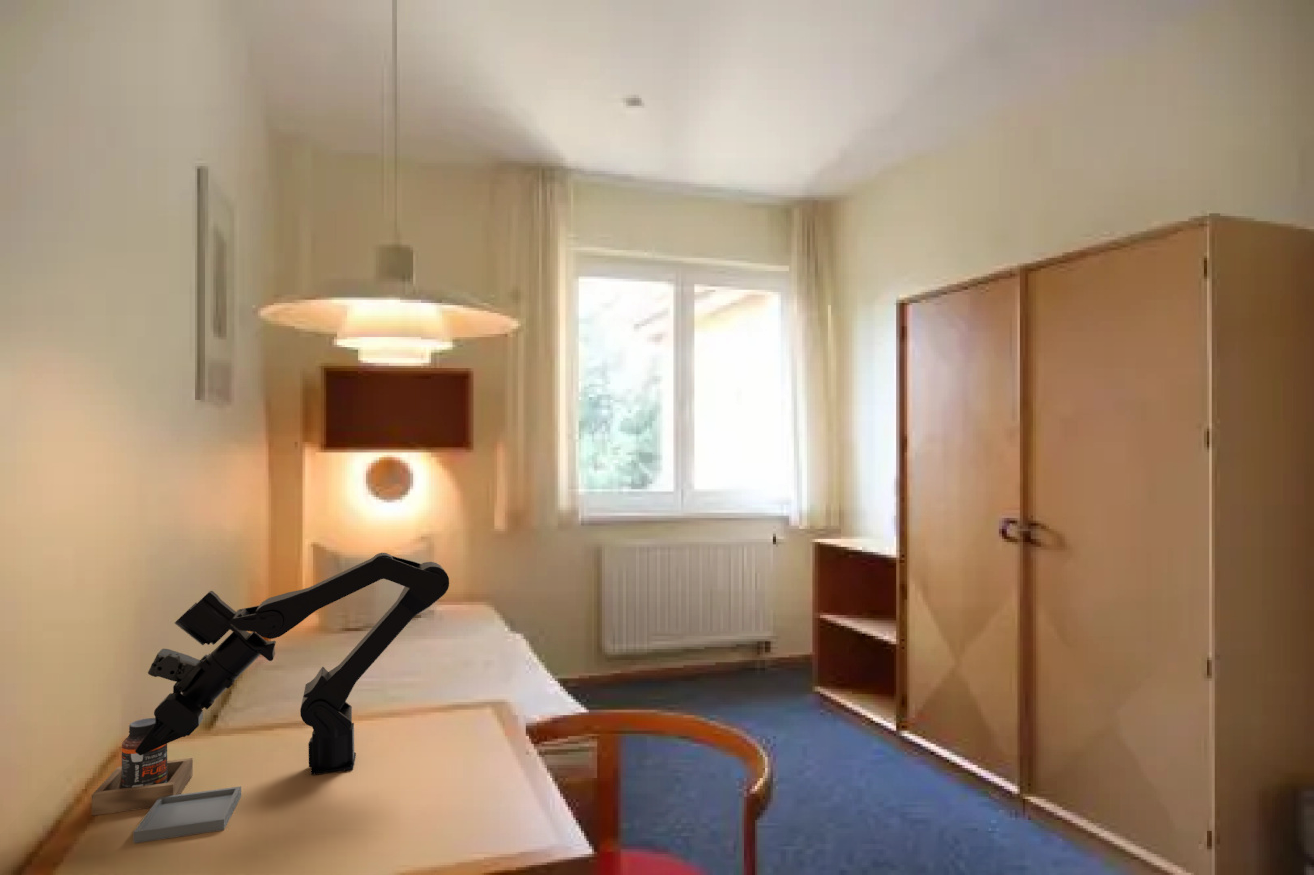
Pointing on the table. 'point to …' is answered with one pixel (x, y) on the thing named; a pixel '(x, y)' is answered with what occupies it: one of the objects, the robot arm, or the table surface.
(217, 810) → the slate tray
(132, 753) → the supplement bottle
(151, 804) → the walnut collar
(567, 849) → the table surface
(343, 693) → the robot arm
